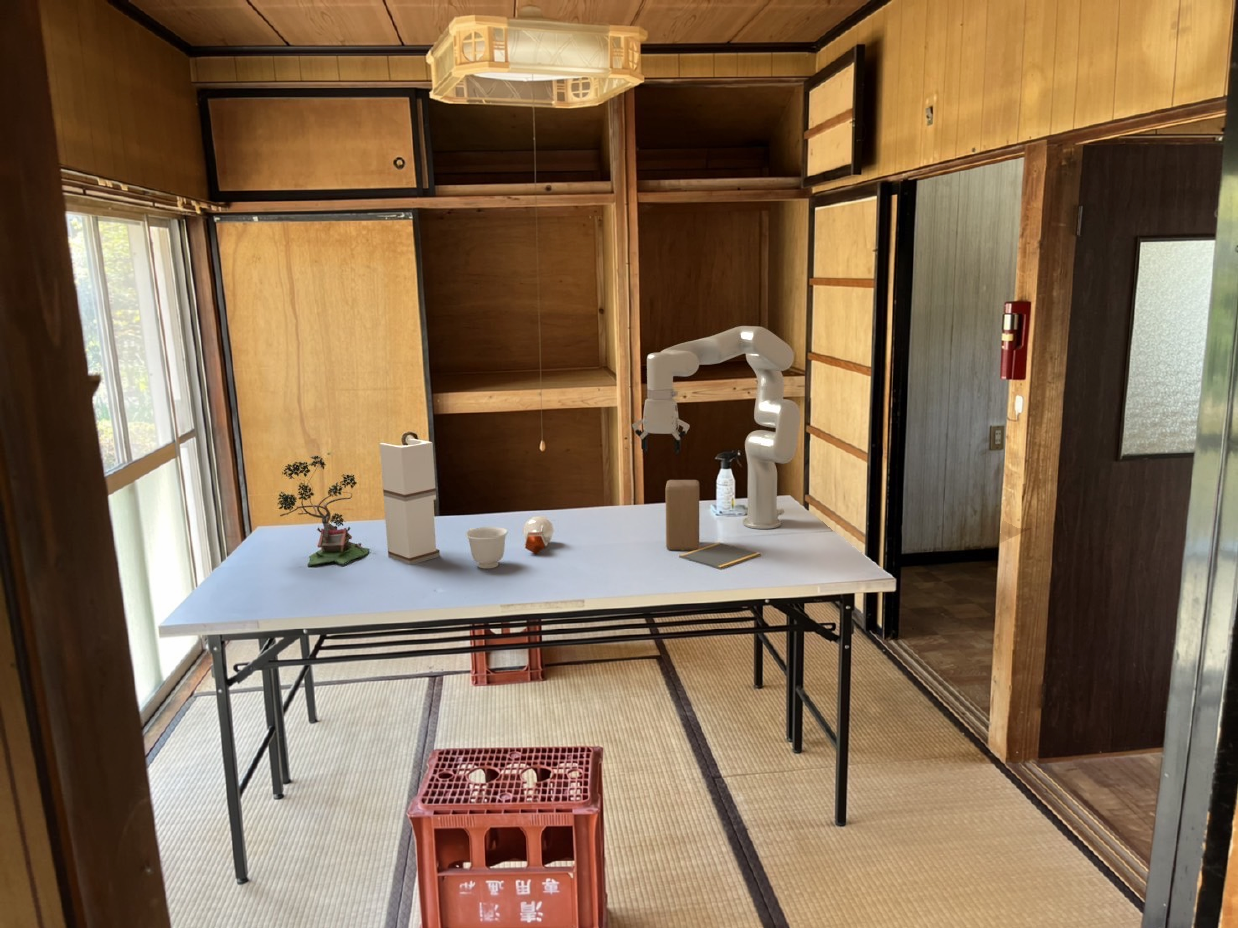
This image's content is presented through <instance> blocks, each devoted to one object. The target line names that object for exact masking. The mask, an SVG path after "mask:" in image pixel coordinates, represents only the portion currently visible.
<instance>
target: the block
mask: <svg viewBox="0 0 1238 928" xmlns="http://www.w3.org/2000/svg"><path fill="white" fill-rule="evenodd" d="M665 547H666V549H667V550H669V551H694V550H697V549H700V482H699V480H697V479H669V480H667V481H666V485H665Z"/></svg>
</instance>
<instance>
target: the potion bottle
mask: <svg viewBox="0 0 1238 928" xmlns="http://www.w3.org/2000/svg"><path fill="white" fill-rule="evenodd" d="M522 533H523V538H524V539H525V543H524V548H525V549H526V550H528V551H529V552H531V553H532V554H534V555H537V554H539V553H540V552H541V551H543V550H544V549H546V546H548V543H549V542H551V541H552V539H553V537H554V533H555V529H554V526H553V523H552V521H550V520H549V519H548V518H547V517H545V516H542V515H536V516H533V517H530V518H529V519H528V520H527V521H526V522H524V526H523V531H522Z"/></svg>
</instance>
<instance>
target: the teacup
mask: <svg viewBox="0 0 1238 928" xmlns="http://www.w3.org/2000/svg"><path fill="white" fill-rule="evenodd" d="M507 534H508V530H507V529H506V528H503V527H499V526H498V527H497V526H485V527H484V526H483V527H479V528H478V527H477V528H473V527H471V528H469V529H468V530H467V532H466V533H465V536H466V537H467V538H468V542H469V547H470V553H471V556H472V559H473V560H474V561H475V562H476V563H478V568H480V569H494V568H496V567H498V566H499V562H500V561H501V560H502V559H503V557H504V552H505V546H506V545H505V544H506V543H505V542H506V536H507Z"/></svg>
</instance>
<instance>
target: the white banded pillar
mask: <svg viewBox="0 0 1238 928" xmlns="http://www.w3.org/2000/svg"><path fill="white" fill-rule="evenodd" d="M433 445H434V444H433V442H432V441H428V440H423V439H422V440H421V439H415V438H410V437H409V438H407V445H397V444H396V445H394V444H390V443H384V442H380V443H379V454H380V456H379V457H380V465H381V478H382V479H381V480H382V492H383V493H382V494H383V505H384V516H385V518H384V519H385V529H386V532H385V533H386V542H387V543H386V545H387V557H388V558H389V559H392V560H394V561H396V562H397V561H398V562H401V563H403V564H406V565H410V566H411V565H415V564H418V563H422V562H424V561H428V560H431V559H435V558H438V557H441V554H440V553H441V552H440V549H438V548H437V541H436V527H435V524H436V523H435V515H434V513H435V512H434V500H437V493H436V478H435V476H436V475H435V473H436V472H435V461H434V447H433Z"/></svg>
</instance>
